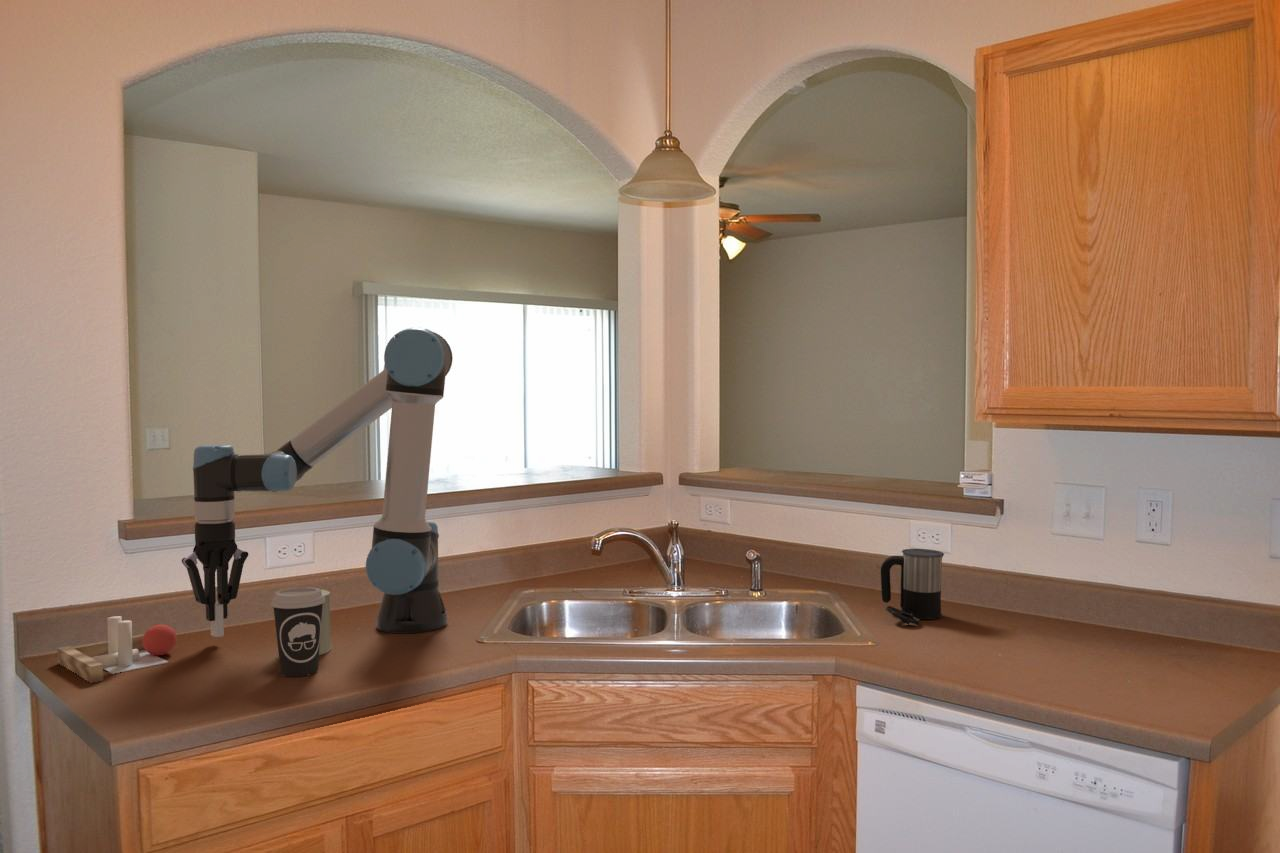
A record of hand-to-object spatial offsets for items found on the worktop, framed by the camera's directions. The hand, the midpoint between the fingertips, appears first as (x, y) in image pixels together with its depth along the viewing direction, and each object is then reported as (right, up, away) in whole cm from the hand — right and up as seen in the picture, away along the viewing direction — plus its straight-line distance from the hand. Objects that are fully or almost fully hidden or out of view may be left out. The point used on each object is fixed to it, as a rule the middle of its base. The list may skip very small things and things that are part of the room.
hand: (217, 635), depth 198 cm
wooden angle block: (-12, -2, -13) cm, 18 cm away
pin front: (-11, -1, -11) cm, 16 cm away
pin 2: (-11, -3, -15) cm, 19 cm away
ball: (-8, +1, -8) cm, 11 cm away
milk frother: (+148, -1, +21) cm, 150 cm away
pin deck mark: (-12, -3, -12) cm, 17 cm away
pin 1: (-14, -2, -12) cm, 19 cm away
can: (+20, -2, -5) cm, 21 cm away
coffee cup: (+23, -3, -19) cm, 30 cm away
